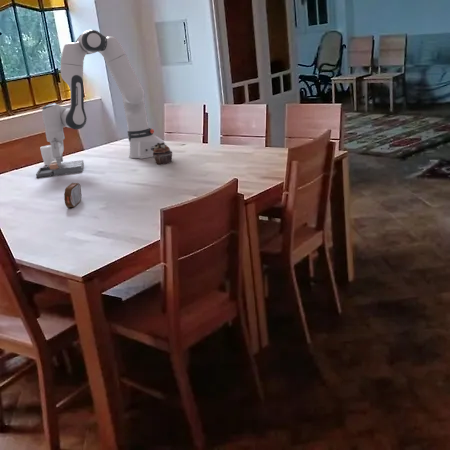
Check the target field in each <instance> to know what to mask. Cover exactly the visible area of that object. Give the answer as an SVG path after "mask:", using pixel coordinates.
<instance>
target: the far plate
mask: <svg viewBox="0 0 450 450" xmlns="http://www.w3.org/2000/svg"><path fill="white" fill-rule="evenodd" d="M84 167H85V163H84V159H81V160H73V161H72V160H71V161H66V162H61V165H60V166H59V168H57V169H53V173H54V175H53V177H54V176H55V177H56V176H63V175H70V174H75V173H76V174H77V173H83V171H84Z"/></svg>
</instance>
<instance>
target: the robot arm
mask: <svg viewBox="0 0 450 450" xmlns="http://www.w3.org/2000/svg"><path fill="white" fill-rule="evenodd" d="M97 52H98V53H99V54H100V55H101V56H102V57H103V59H104V61H105V63H106V66H107V67H108V70H109V71H110V74H111V75H112V77H113V79H114V82H115V83H116V85H117V88H118V90H119V92H120V93H121V97H122V102H123V109H124V115H125V118H126V119H125V120H126V126H127V138H128V139H127V140H128V141H129V154H128V157H129V158H130V159H148V158H152V157H153V158H154V156H153V150H154V146H155V145H157V143H164V144H165V145H166V143H165V141H164V140H163V138H161V137H159V136H157V135H155V134H154V133H155V130H154V129H153V128H151V127H149V121H148V114H147V109H146V105H145V100H144V98H145V90H144V87H143V85H142V84H141V82H140V80H139V78H138V75H137V73H136V71H135V70H134V68H133V67H132V64H131V62H130V60H129V58H128V55H127V54H126V52H125V49H124V47H123V46H122V44H121V43H120V42H119V40H118V39H117V38H116V37H115V36H112V35H111V36H110V35H109V36H105V35H104V34H102V33H101V32H100V31H98V30H96V29H88V30H85V31H84V32H82V33H81V34H80V35H79V36H78V37H77V39H76V40H75V42H70V41H69V42H68V43H65V44H64V46H63V48H62V53H61V59H60V76H61V78H62V81H64V82H65V83H66V84H67V85H68V88H69V91H70V107H64V106H62V105H61V104H57V103H49V104H47V105H45V106H43V107H42V110H41V111H42V112H41V114H42V115H41V116H42V122H43V125H44V127H45V137H46V142H49V145H51V148H52V154H53V158H56V161H57V165H58V166H60V165H61V163H64V162H63V161H64V158H63V152H64V151H65V147H64V140H65V139H66V138H65V133H64V128H70V129H72V130H75V131H76V130H81V129H82V128H84V127H85V125H86V123H87V115H86V111H85V104H84V103H85V100H84V99H85V95H84V93H85V92H84V91H85V89H84V77H83V76H84V60H85V57H86V55H91V54H92V55H93V54H95V53H97ZM170 151H171V149H170ZM171 152H172V151H171Z"/></svg>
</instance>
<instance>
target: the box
mask: <svg viewBox="0 0 450 450" xmlns="http://www.w3.org/2000/svg"><path fill="white" fill-rule="evenodd" d="M35 175H36V176H35V177H36V179H42V178H49V177H54V173H53V169H50V167H49V166H44V167H40V168H39V169H38V170H37V172H36V174H35Z"/></svg>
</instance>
